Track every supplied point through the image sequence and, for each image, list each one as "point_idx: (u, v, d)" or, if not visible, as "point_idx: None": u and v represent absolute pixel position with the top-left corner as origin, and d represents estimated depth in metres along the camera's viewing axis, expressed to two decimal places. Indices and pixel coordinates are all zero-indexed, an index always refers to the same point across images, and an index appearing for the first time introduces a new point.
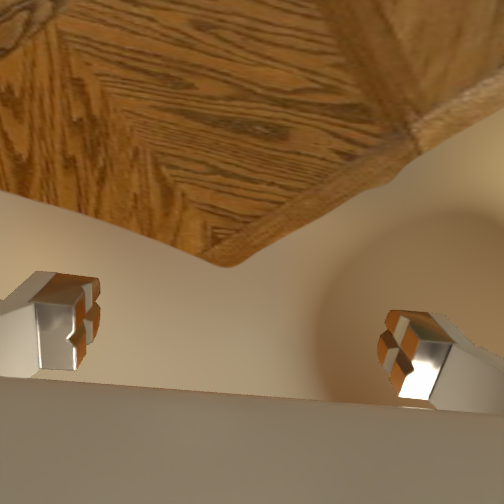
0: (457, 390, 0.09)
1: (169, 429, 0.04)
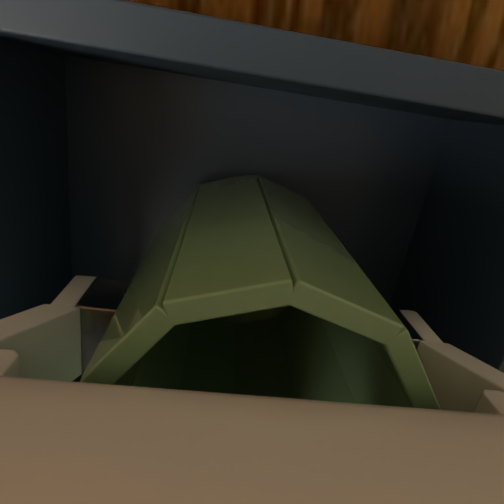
0: None
1: (169, 429, 0.04)
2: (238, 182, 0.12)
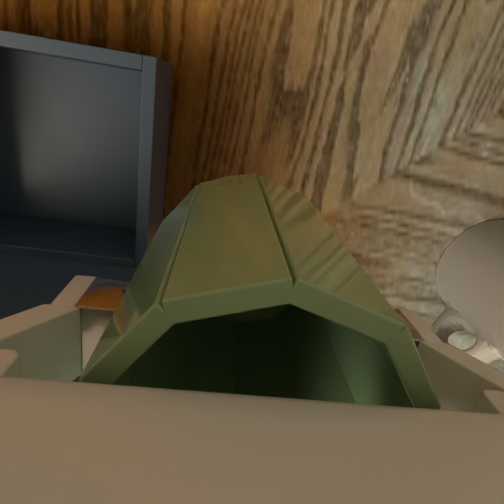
0: None
1: (169, 429, 0.04)
2: (238, 181, 0.12)
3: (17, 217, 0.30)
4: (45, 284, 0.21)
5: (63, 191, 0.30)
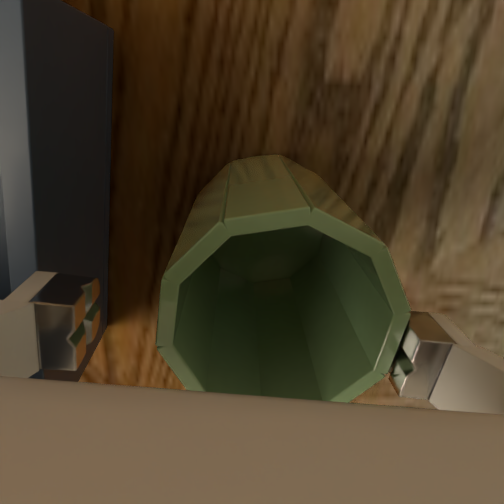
0: (457, 390, 0.09)
1: (169, 429, 0.04)
2: (263, 159, 0.15)
3: None
4: None
5: None
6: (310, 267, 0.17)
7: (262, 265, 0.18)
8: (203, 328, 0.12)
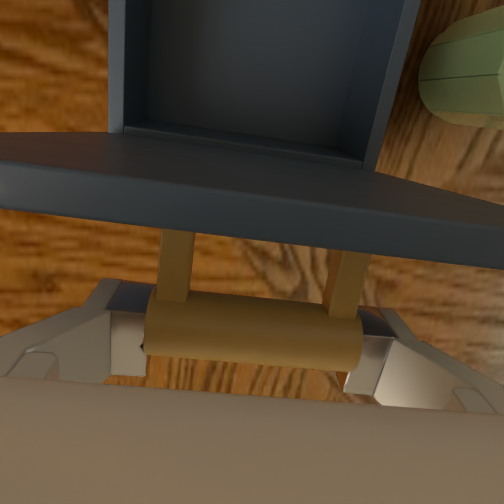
0: (398, 385, 0.09)
1: (169, 429, 0.04)
2: None
3: (186, 125, 0.24)
4: (309, 166, 0.16)
5: (240, 95, 0.25)
6: None
7: None
8: None
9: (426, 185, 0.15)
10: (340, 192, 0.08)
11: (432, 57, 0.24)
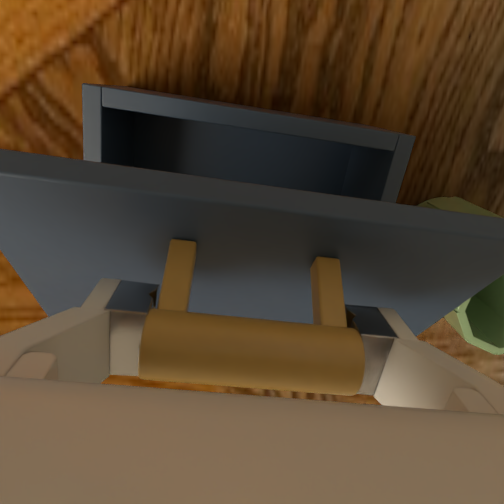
0: (399, 385, 0.09)
1: (169, 429, 0.04)
2: (453, 201, 0.24)
3: None
4: None
5: None
6: None
7: None
8: None
9: None
10: None
11: None
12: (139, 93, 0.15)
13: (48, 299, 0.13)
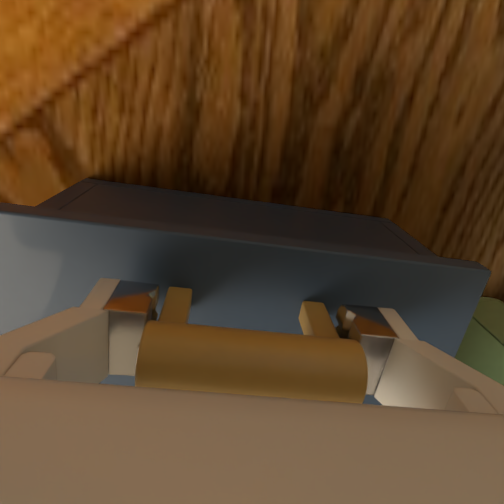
0: (399, 385, 0.09)
1: (169, 429, 0.04)
2: (495, 309, 0.19)
3: None
4: None
5: None
6: None
7: None
8: None
9: None
10: None
11: None
12: None
13: None
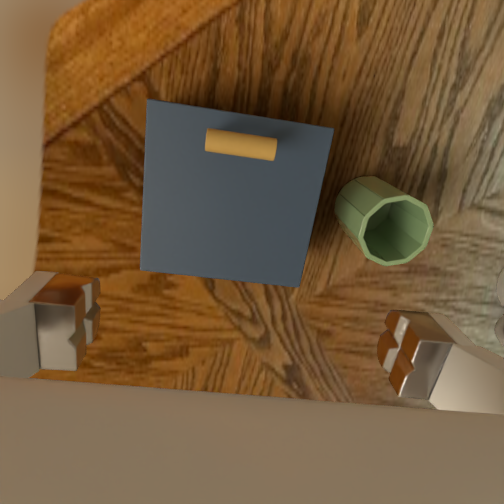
0: (457, 390, 0.09)
1: (169, 429, 0.04)
2: (370, 178, 0.37)
3: None
4: None
5: None
6: (384, 223, 0.40)
7: None
8: None
9: None
10: None
11: (339, 202, 0.38)
12: None
13: (149, 183, 0.30)
